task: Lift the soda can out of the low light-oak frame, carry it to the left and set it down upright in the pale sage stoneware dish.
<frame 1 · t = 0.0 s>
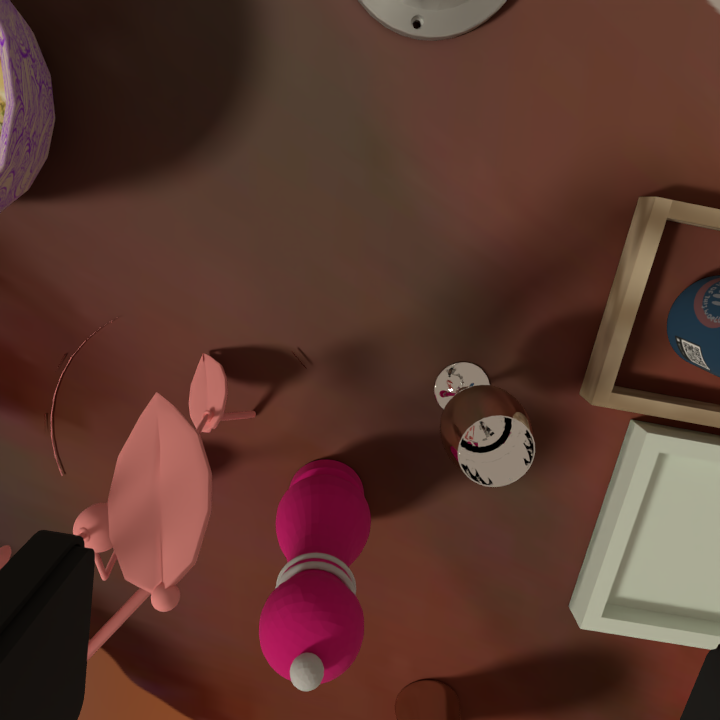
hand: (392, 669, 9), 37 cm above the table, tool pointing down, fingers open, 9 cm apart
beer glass: (426, 703, 55), on the table
wineglass: (461, 388, 46), on the table
figurine: (153, 405, 47), on the table
oak frame: (704, 318, 45), on the table
soda can: (702, 317, 45), resting in oak frame
sage dish: (699, 534, 50), on the table
pepper mill: (326, 491, 49), on the table
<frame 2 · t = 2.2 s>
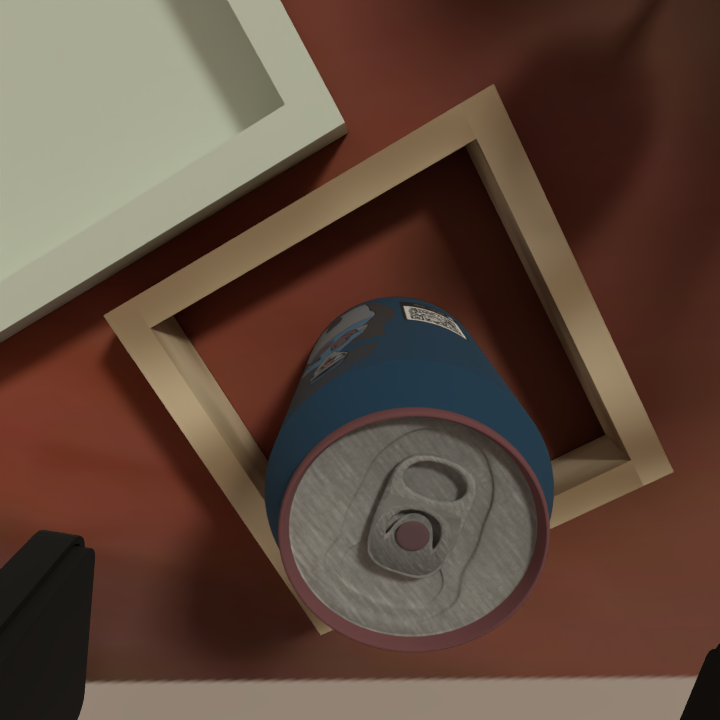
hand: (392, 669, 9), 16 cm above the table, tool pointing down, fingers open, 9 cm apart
oak frame: (393, 376, 24), on the table
soda can: (393, 374, 24), resting in oak frame
sage dish: (3, 30, 21), on the table
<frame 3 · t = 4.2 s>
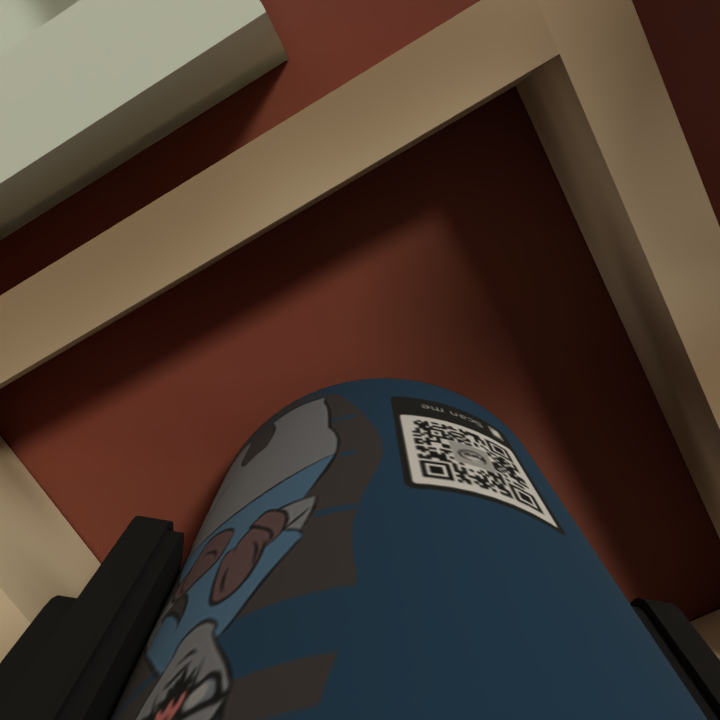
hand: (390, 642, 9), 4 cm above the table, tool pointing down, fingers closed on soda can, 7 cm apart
oak frame: (380, 505, 13), on the table
soda can: (379, 500, 14), resting in oak frame, touching gripper
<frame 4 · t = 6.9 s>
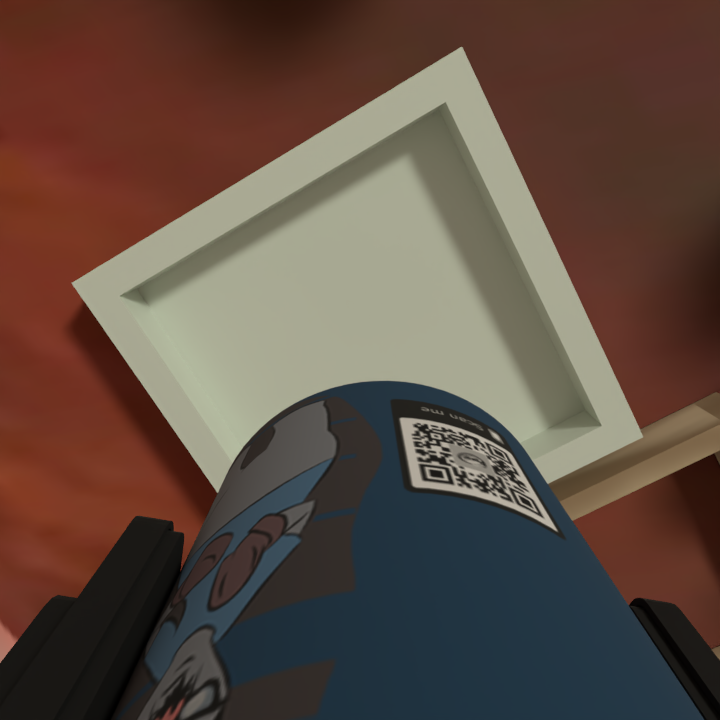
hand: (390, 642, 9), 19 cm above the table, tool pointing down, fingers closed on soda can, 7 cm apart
oak frame: (629, 578, 31), on the table
soda can: (379, 503, 14), point 15 cm above the table, touching gripper
sage dish: (367, 347, 28), on the table
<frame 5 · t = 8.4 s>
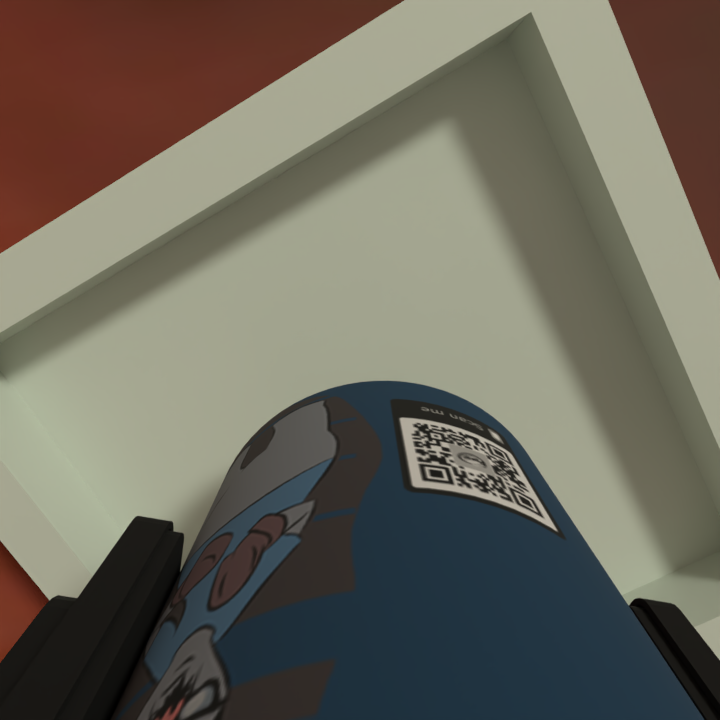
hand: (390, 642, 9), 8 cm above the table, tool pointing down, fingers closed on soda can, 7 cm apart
soda can: (379, 503, 14), point 4 cm above the table, touching gripper
sage dish: (376, 441, 17), on the table
when the fingers open (7 cm above the table, at t = 9.6 s): soda can drops 1 cm, resting on sage dish.
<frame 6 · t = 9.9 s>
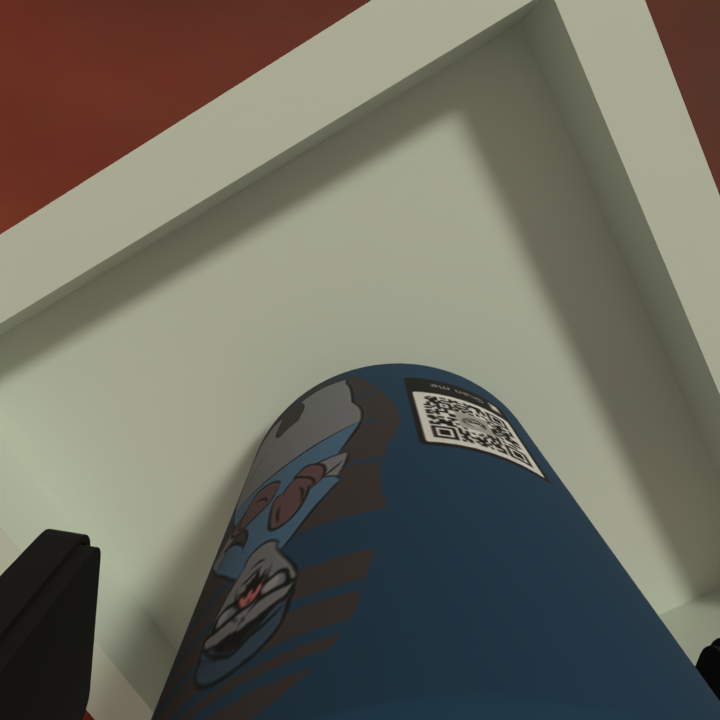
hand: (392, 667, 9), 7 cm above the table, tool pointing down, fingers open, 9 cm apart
soda can: (391, 475, 15), point 1 cm above the table, touching sage dish
sage dish: (376, 459, 16), on the table
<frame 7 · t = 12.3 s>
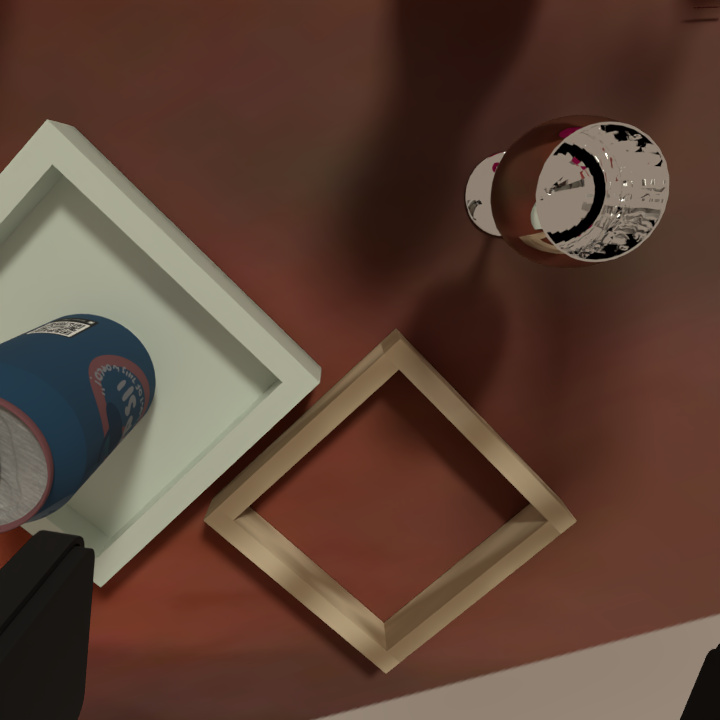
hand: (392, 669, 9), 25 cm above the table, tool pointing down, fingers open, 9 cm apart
wineglass: (504, 194, 32), on the table
oak frame: (388, 499, 36), on the table
soda can: (101, 369, 33), point 1 cm above the table, touching sage dish
sage dish: (98, 365, 33), on the table
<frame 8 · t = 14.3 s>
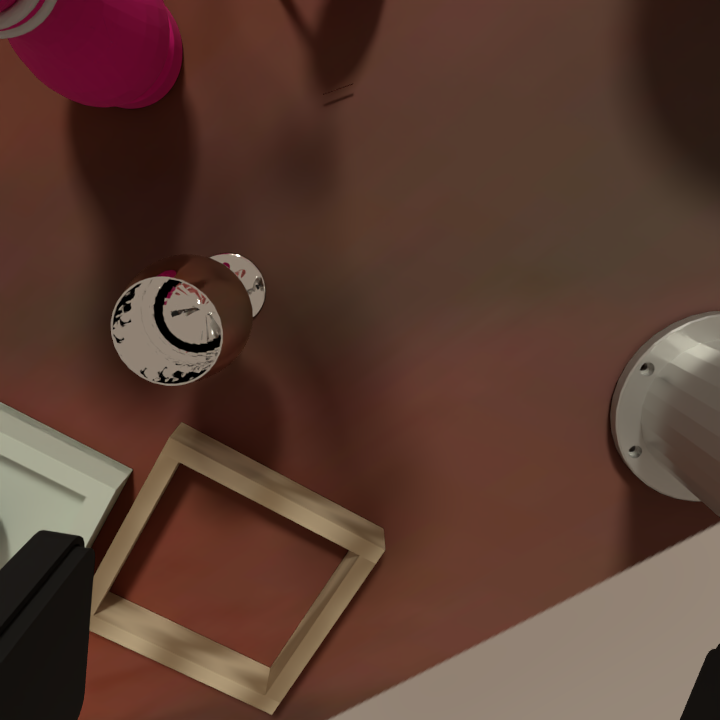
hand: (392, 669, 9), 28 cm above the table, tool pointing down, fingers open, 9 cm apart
wineglass: (230, 289, 36), on the table
oak frame: (232, 563, 41), on the table
pepper mill: (128, 49, 32), on the table
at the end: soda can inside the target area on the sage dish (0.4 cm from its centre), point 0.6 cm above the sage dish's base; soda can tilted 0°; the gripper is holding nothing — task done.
